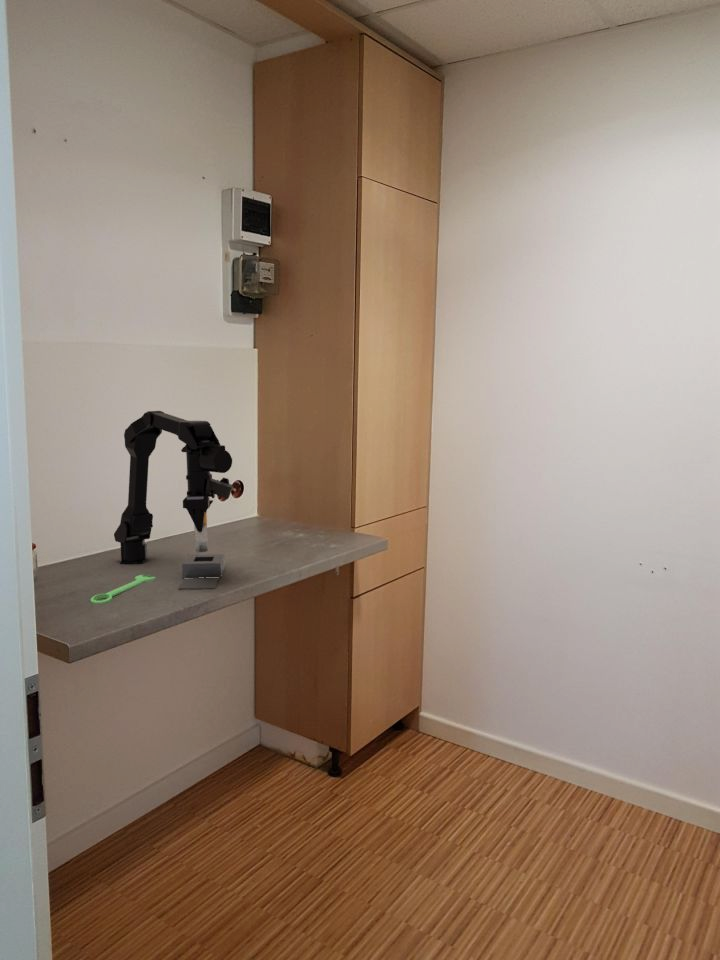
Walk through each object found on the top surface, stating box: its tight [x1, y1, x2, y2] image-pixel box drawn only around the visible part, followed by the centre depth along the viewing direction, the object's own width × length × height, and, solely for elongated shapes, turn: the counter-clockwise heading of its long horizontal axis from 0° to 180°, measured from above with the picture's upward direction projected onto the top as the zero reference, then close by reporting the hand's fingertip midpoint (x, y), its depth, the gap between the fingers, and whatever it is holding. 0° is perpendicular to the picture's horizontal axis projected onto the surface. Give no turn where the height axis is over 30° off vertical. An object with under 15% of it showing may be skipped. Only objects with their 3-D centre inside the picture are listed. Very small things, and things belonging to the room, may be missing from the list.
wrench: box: [90, 574, 157, 605], centre depth 200 cm, size 25×2×5 cm
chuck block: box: [181, 553, 226, 579], centre depth 215 cm, size 10×10×4 cm
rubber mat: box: [178, 578, 219, 590], centre depth 204 cm, size 9×9×1 cm
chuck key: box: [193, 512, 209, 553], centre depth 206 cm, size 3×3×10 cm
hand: (200, 530), depth 206 cm, fingers closed on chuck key, 3 cm apart
